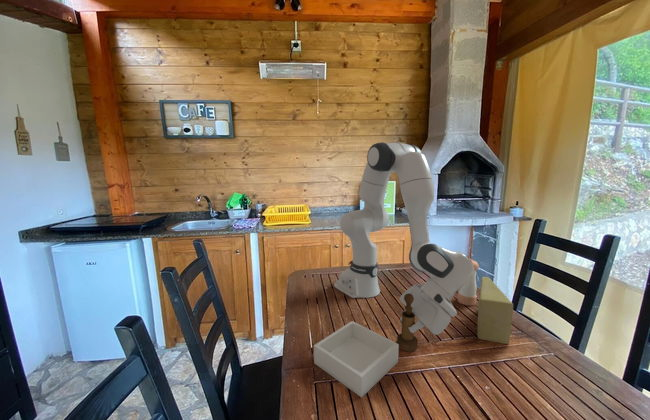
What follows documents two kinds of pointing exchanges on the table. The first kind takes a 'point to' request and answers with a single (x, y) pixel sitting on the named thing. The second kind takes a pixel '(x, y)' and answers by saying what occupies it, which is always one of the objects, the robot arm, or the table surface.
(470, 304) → the pepper shaker
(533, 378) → the table surface
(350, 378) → the open box
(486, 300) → the cheese
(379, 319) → the table surface
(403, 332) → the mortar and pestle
